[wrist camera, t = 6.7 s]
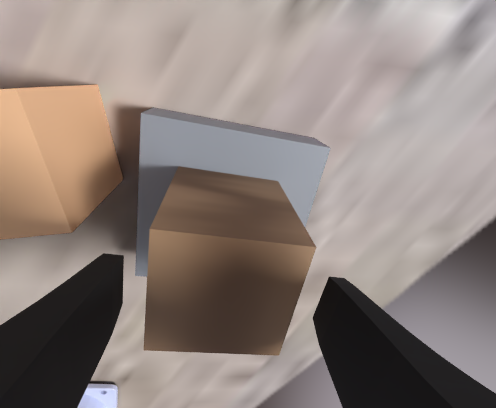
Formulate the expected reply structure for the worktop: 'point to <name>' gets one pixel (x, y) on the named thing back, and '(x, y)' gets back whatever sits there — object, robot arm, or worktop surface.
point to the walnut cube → (224, 265)
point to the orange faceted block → (53, 159)
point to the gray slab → (220, 162)
